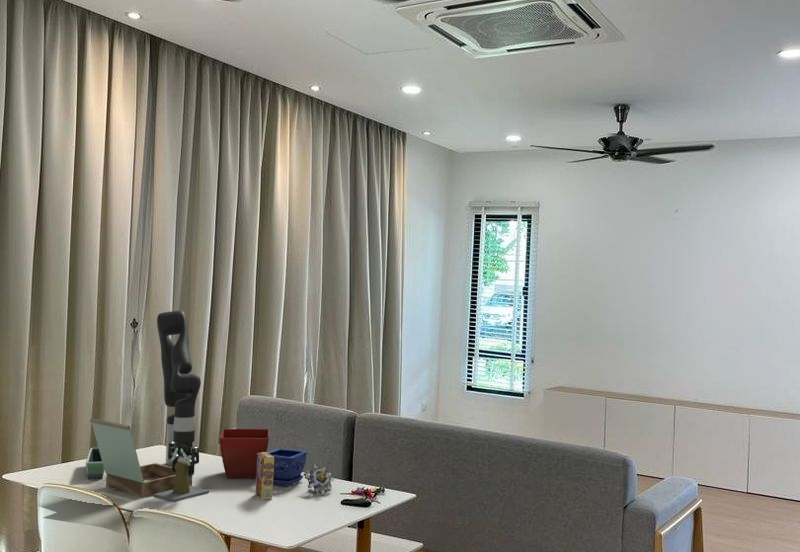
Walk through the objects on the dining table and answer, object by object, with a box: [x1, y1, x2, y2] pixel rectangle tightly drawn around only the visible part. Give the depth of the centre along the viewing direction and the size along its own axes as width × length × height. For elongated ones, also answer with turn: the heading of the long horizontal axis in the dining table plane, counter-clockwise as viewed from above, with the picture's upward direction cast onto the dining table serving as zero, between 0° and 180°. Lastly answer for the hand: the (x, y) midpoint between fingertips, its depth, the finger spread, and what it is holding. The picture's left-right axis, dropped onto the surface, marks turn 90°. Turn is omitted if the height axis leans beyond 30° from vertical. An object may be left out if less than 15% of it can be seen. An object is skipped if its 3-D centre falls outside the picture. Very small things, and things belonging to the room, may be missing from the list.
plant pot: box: [219, 428, 270, 479], centre depth 309 cm, size 19×19×17 cm
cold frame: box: [105, 462, 193, 498], centre depth 288 cm, size 22×22×5 cm
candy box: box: [255, 451, 274, 501], centre depth 278 cm, size 9×4×15 cm, turn 26°
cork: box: [173, 461, 190, 494], centre depth 278 cm, size 6×6×11 cm
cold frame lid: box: [89, 418, 145, 483], centre depth 276 cm, size 22×22×1 cm
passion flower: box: [303, 464, 335, 495], centre depth 287 cm, size 11×11×12 cm
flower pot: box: [267, 448, 307, 487], centre depth 298 cm, size 13×13×12 cm
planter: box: [85, 447, 105, 481], centre depth 307 cm, size 28×7×7 cm, turn 19°
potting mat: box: [153, 485, 210, 503], centre depth 278 cm, size 16×11×1 cm
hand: (182, 473), depth 278 cm, fingers open, 8 cm apart
